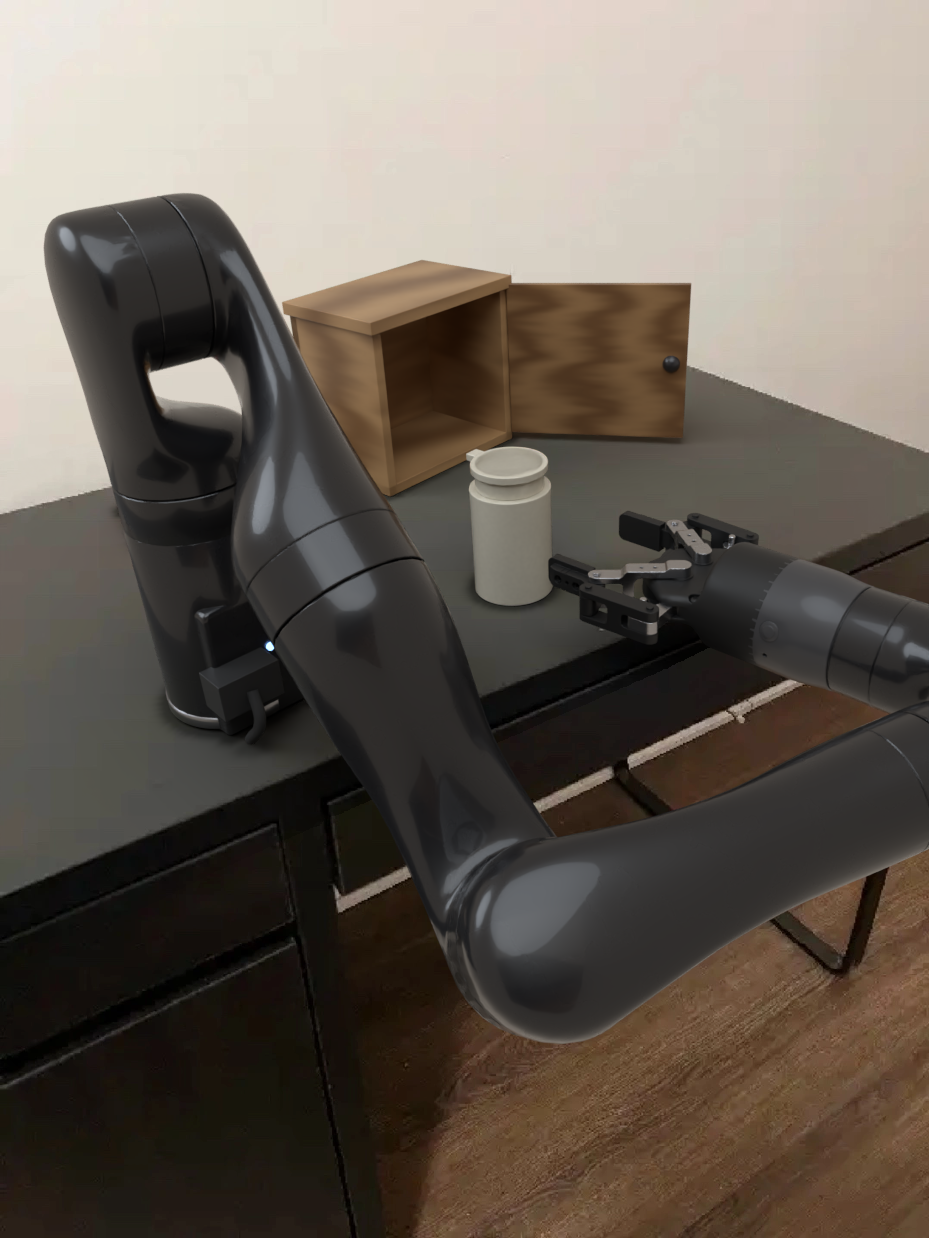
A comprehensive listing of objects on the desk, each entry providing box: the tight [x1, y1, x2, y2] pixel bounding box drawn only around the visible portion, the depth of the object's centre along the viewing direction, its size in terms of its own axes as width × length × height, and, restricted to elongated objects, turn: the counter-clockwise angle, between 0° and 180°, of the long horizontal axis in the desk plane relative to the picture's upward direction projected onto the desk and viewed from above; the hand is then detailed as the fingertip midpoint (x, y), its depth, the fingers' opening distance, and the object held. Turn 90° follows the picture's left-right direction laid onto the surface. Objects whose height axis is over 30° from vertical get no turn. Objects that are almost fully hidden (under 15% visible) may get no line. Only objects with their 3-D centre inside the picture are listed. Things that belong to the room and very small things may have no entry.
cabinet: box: [281, 259, 692, 497], centre depth 103 cm, size 28×28×17 cm
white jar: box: [466, 446, 554, 607], centre depth 82 cm, size 7×6×11 cm
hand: (587, 544), depth 76 cm, fingers open, 8 cm apart
